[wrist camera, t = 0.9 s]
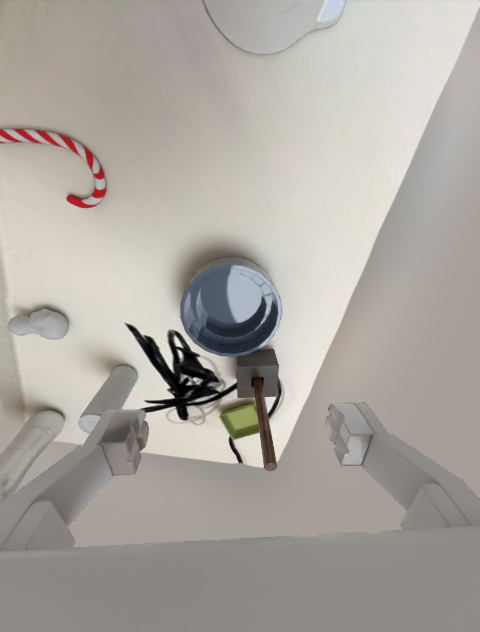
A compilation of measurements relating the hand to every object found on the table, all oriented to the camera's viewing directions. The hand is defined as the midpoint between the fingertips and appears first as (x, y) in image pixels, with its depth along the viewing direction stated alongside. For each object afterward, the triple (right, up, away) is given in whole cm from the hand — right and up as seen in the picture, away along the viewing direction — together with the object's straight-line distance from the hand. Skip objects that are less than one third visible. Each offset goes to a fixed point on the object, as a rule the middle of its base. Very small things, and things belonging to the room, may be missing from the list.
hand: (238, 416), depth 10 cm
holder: (+3, -5, +36) cm, 36 cm away
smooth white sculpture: (-34, +4, +30) cm, 45 cm away
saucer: (+1, -18, +42) cm, 46 cm away
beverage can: (-23, -7, +36) cm, 43 cm away
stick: (+3, -5, +36) cm, 36 cm away
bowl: (-1, +7, +29) cm, 30 cm away
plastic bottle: (-41, -18, +40) cm, 60 cm away
